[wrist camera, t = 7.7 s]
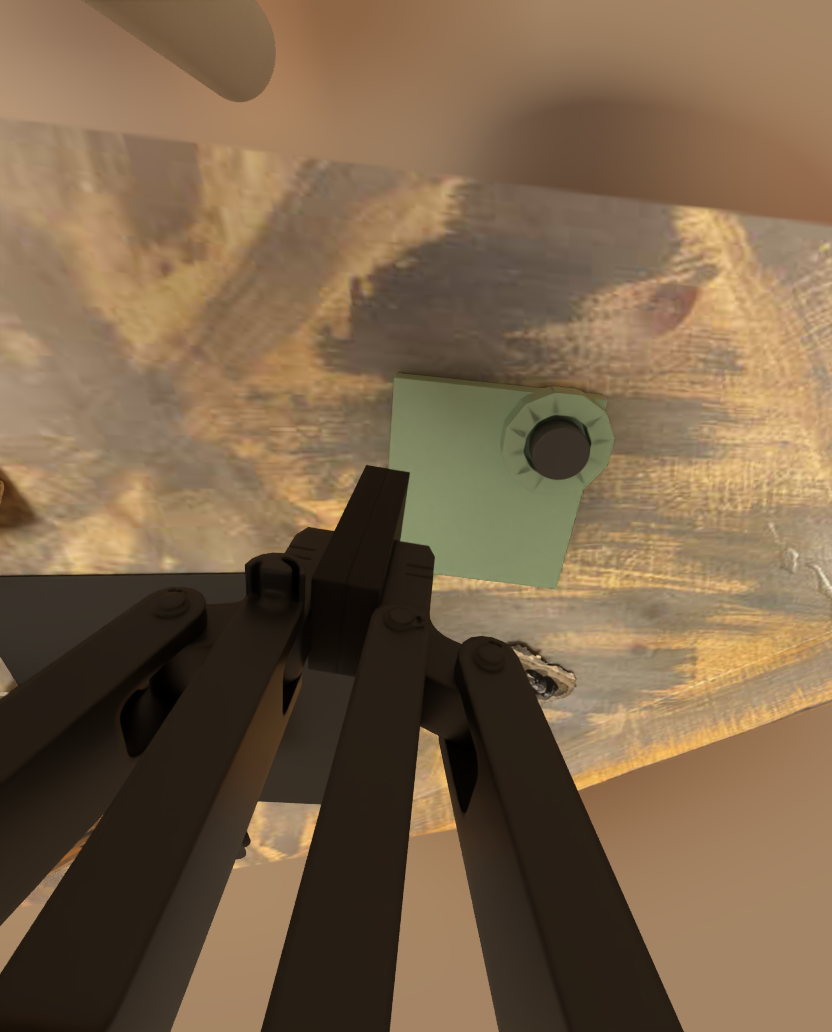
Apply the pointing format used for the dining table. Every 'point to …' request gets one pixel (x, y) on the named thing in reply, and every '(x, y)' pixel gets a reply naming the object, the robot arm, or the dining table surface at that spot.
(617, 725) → the dining table surface
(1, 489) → the wooden cutout
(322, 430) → the dining table surface
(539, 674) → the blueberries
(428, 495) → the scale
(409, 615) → the robot arm
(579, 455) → the button
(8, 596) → the display pedestal stand
